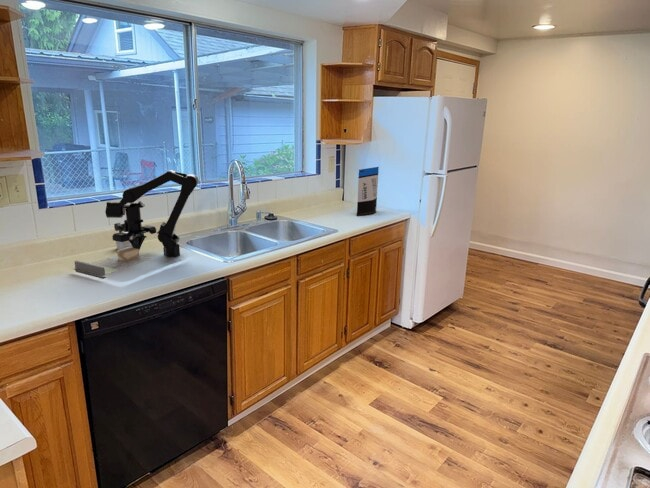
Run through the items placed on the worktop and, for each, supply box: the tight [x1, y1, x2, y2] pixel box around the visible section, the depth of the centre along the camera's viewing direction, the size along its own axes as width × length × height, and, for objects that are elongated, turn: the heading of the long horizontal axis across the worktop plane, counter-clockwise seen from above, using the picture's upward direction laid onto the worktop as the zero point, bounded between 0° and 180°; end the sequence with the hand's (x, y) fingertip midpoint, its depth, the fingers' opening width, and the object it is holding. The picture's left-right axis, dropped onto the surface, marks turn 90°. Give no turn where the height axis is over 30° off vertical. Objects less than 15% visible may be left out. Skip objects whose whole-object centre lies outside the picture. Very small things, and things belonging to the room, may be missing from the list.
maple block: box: [116, 247, 140, 262], centre depth 190 cm, size 6×6×4 cm
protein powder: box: [356, 166, 380, 217], centre depth 292 cm, size 10×24×30 cm, turn 143°
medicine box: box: [115, 231, 133, 250], centre depth 205 cm, size 8×4×9 cm, turn 148°
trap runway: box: [73, 254, 152, 280], centre depth 184 cm, size 16×24×4 cm, turn 154°
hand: (136, 252), depth 194 cm, fingers closed
